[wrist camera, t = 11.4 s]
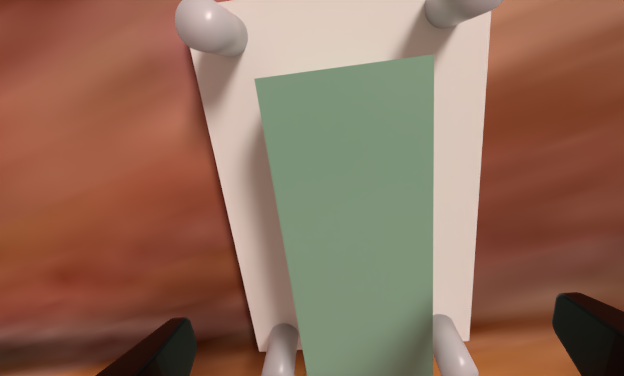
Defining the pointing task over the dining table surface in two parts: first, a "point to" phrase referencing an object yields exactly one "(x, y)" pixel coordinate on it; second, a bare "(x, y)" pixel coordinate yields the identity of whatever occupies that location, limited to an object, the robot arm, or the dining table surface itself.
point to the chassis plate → (324, 55)
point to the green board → (357, 211)
